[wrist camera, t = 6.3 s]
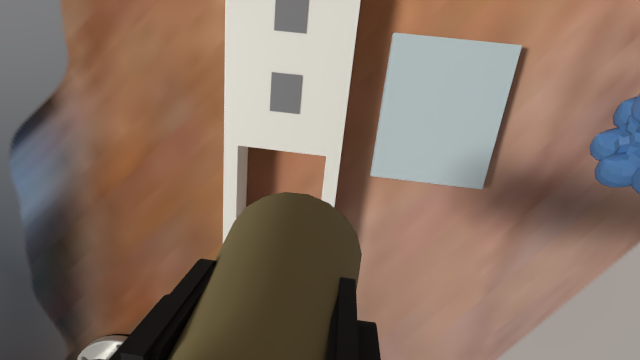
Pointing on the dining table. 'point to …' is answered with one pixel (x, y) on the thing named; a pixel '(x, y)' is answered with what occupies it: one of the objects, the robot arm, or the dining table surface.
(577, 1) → the dining table surface
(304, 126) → the white board with cutout
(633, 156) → the grapes
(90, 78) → the dining table surface
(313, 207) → the olive rounded piece
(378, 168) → the rubber mat
